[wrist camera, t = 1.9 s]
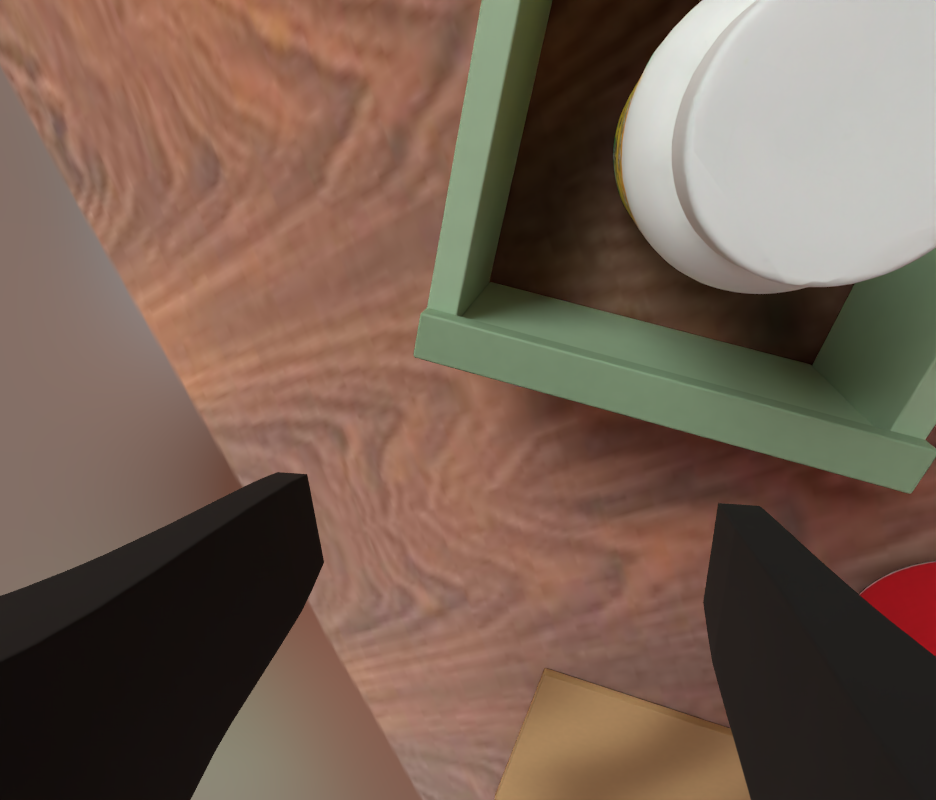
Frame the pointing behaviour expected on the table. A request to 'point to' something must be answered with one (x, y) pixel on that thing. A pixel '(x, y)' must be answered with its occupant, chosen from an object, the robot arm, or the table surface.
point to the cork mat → (616, 749)
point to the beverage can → (908, 601)
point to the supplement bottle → (785, 142)
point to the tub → (660, 348)
